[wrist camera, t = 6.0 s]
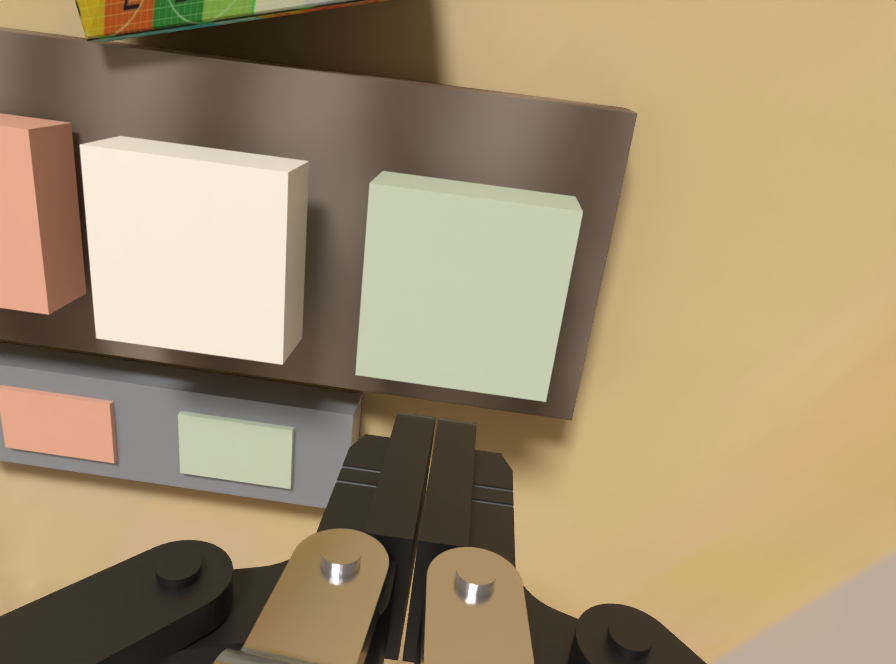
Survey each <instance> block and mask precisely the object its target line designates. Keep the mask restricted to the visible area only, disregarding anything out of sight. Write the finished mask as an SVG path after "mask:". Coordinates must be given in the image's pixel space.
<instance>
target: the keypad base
mask: <svg viewBox="0 0 896 664" xmlns="http://www.w3.org/2000/svg"><path fill="white" fill-rule="evenodd" d="M0 113H2V114H9V115H17V116H24V117H32V118H39V119H47V120H54V121H62V122H69V123H71V125H72V137H73V148H74V159H75V171H76V182H77V193H78V204H79V216H80V227H81V238H82V250H83V261H84V272H85V284H86V294H84V295H83V296H81V297H79V298H77V299H76V300H74V301H72V302H70V303H69V304H67V305H65V306H63V307H62V308H60V309H58V310H56V311H54V312H53V313H51V314H49V315H48V314H40V313H33V312H26V311H19V310H12V309H5V308H0V339H3V340H10V341H17V342H24V343H31V344H38V345H45V346H52V347H59V348H66V349H73V350H80V351H87V352H94V353H101V354H108V355H115V356H122V357H129V358H136V359H143V360H151V361H158V362H165V363H172V364H179V365H186V366H193V367H200V368H207V369H214V370H221V371H228V372H235V373H242V374H249V375H256V376H263V377H270V378H277V379H284V380H291V381H298V382H306V383H313V384H320V385H327V386H334V387H341V388H348V389H355V390H362V391H369V392H376V393H383V394H390V395H397V396H404V397H411V398H418V399H425V400H432V401H439V402H446V403H453V404H460V405H468V406H475V407H482V408H489V409H496V410H503V411H510V412H517V413H524V414H531V415H538V416H545V417H552V418H559V419H566V420H572V416H573V412H574V407H575V402H576V398H577V393H578V388H579V384H580V379H581V374H582V370H583V365H584V360H585V356H586V351H587V346H588V342H589V337H590V332H591V328H592V323H593V318H594V314H595V309H596V304H597V300H598V295H599V290H600V286H601V281H602V276H603V272H604V267H605V262H606V257H607V253H608V248H609V243H610V239H611V234H612V229H613V225H614V220H615V215H616V211H617V206H618V201H619V197H620V192H621V187H622V183H623V178H624V173H625V169H626V164H627V159H628V155H629V150H630V145H631V141H632V136H633V131H634V127H635V122H636V117H637V113H635V112H633V111H631V110H629V109H626V108H621V107H613V106H605V105H597V104H590V103H582V102H574V101H567V100H559V99H551V98H543V97H536V96H528V95H520V94H512V93H505V92H497V91H489V90H482V89H474V88H466V87H458V86H451V85H443V84H435V83H427V82H420V81H412V80H404V79H396V78H389V77H381V76H373V75H366V74H358V73H350V72H342V71H335V70H327V69H319V68H311V67H304V66H296V65H288V64H280V63H273V62H265V61H257V60H250V59H242V58H234V57H226V56H219V55H211V54H203V53H195V52H188V51H180V50H172V49H165V48H157V47H149V46H141V45H134V44H126V43H118V42H110V41H106V42H92V41H87V39H86V38H79V37H72V36H64V35H56V34H49V33H41V32H33V31H25V30H18V29H10V28H2V27H0ZM118 136H125V137H132V138H140V139H147V140H155V141H162V142H170V143H177V144H185V145H192V146H200V147H207V148H215V149H222V150H230V151H237V152H245V153H252V154H260V155H267V156H275V157H282V158H290V159H297V160H305V161H309V178H308V203H307V228H306V253H305V278H304V303H303V328H302V339H301V340H300V341H299V343H298V344H297V346H296V347H295V348H294V350H293V351H292V353H291V354H290V355H289V357H288V358H287V360H286V361H285V362H284V364H283V365H281V364H274V363H267V362H260V361H253V360H246V359H239V358H232V357H225V356H217V355H210V354H203V353H196V352H189V351H182V350H175V349H168V348H161V347H154V346H147V345H140V344H133V343H126V342H118V341H111V340H104V339H97V338H96V331H95V320H94V308H93V296H92V284H91V272H90V261H89V249H88V237H87V225H86V214H85V202H84V190H83V178H82V167H81V155H80V144H84V143H89V142H94V141H99V140H103V139H108V138H113V137H118ZM382 171H387V172H395V173H403V174H410V175H418V176H425V177H433V178H440V179H448V180H455V181H463V182H470V183H478V184H485V185H493V186H500V187H508V188H515V189H523V190H530V191H538V192H545V193H553V194H560V195H568V196H575V197H576V198H577V200H578V202H579V205H580V207H581V209H582V211H583V215H582V220H581V225H580V230H579V235H578V241H577V246H576V251H575V256H574V261H573V266H572V271H571V276H570V281H569V287H568V292H567V297H566V302H565V307H564V312H563V317H562V322H561V328H560V333H559V338H558V343H557V348H556V353H555V358H554V363H553V369H552V374H551V379H550V384H549V389H548V394H547V399H546V402H543V401H536V400H529V399H522V398H515V397H507V396H500V395H493V394H486V393H479V392H472V391H465V390H458V389H451V388H444V387H437V386H430V385H423V384H416V383H408V382H401V381H394V380H387V379H380V378H373V377H366V376H359V375H355V373H356V359H357V346H358V332H359V319H360V305H361V292H362V278H363V265H364V251H365V237H366V224H367V210H368V197H369V183H370V182H371V181H372V180H373V179H375V178H376V177H377V176H378V175H379V174H380V173H381V172H382Z"/></svg>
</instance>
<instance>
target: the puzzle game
mask: <svg viewBox="0 0 896 664" xmlns="http://www.w3.org/2000/svg"><path fill="white" fill-rule="evenodd" d="M382 1H388V0H75V2H76V5H77V8H78V12H79V15H80V19H81V22H82V25H83V29H84V32H85V36H86V39H87V41H92V42H106V41H113V40H120V39H127V38H134V37H141V36H148V35H155V34H161V33H168V32H175V31H182V30H189V29H196V28H203V27H210V26H217V25H223V24H230V23H237V22H244V21H251V20H258V19H265V18H272V17H278V16H285V15H292V14H299V13H306V12H313V11H320V10H327V9H333V8H340V7H347V6H354V5H361V4H368V3H375V2H382Z"/></svg>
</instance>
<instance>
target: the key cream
mask: <svg viewBox="0 0 896 664" xmlns="http://www.w3.org/2000/svg"><path fill="white" fill-rule="evenodd" d="M80 155H81V167H82V178H83V190H84V202H85V214H86V225H87V237H88V249H89V261H90V272H91V284H92V296H93V308H94V320H95V331H96V338H97V339H104V340H111V341H118V342H126V343H133V344H140V345H147V346H154V347H161V348H168V349H175V350H182V351H189V352H196V353H203V354H210V355H217V356H225V357H232V358H239V359H246V360H253V361H260V362H267V363H274V364H281V365H283V364H284V362H285V361H286V360H287V358H288V357H289V355H290V354H291V353H292V351H293V350H294V348H295V347H296V346H297V344H298V343H299V341H300V340H301V339H302V328H303V303H304V278H305V253H306V228H307V203H308V178H309V161H305V160H297V159H290V158H282V157H275V156H267V155H260V154H252V153H245V152H237V151H230V150H222V149H215V148H207V147H200V146H192V145H185V144H177V143H170V142H162V141H155V140H147V139H140V138H132V137H125V136H118V137H113V138H108V139H103V140H99V141H94V142H89V143H84V144H80Z"/></svg>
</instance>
